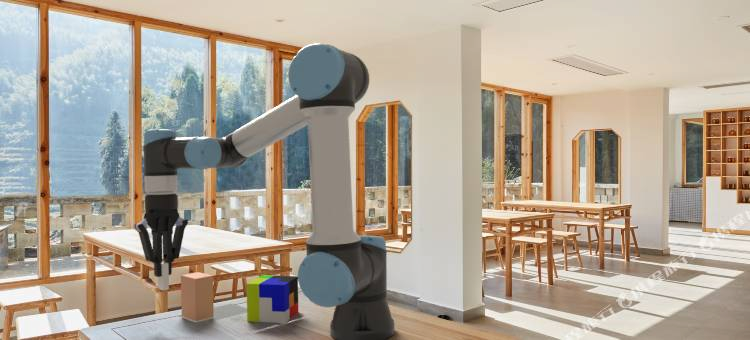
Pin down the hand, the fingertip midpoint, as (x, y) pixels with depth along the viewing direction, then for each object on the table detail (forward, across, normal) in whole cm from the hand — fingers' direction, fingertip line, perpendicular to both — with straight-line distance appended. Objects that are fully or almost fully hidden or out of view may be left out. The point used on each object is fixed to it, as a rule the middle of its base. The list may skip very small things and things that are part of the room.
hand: (163, 289), depth 136 cm
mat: (+10, -14, 0) cm, 17 cm away
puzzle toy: (+10, -22, +14) cm, 28 cm away
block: (+9, -9, 0) cm, 13 cm away
